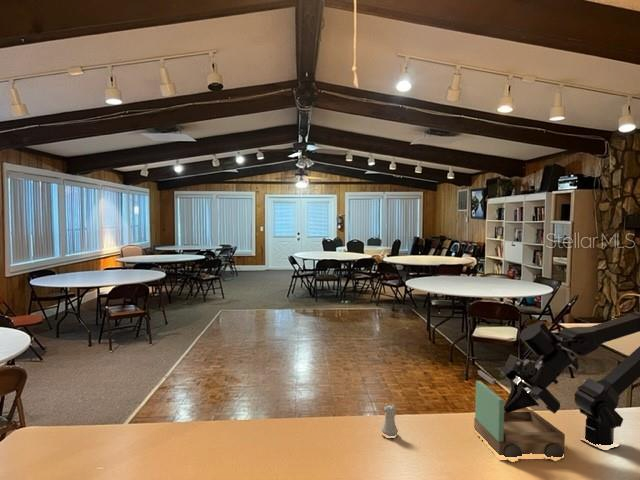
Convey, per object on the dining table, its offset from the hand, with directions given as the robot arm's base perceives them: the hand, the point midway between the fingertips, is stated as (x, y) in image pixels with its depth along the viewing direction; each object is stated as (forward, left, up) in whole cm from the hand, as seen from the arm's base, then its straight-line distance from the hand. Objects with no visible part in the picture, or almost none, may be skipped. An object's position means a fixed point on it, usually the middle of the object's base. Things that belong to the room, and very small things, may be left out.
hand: (504, 411), depth 107 cm
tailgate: (+5, -2, -5) cm, 7 cm away
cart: (-3, +1, -9) cm, 9 cm away
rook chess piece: (+24, -15, -9) cm, 30 cm away
